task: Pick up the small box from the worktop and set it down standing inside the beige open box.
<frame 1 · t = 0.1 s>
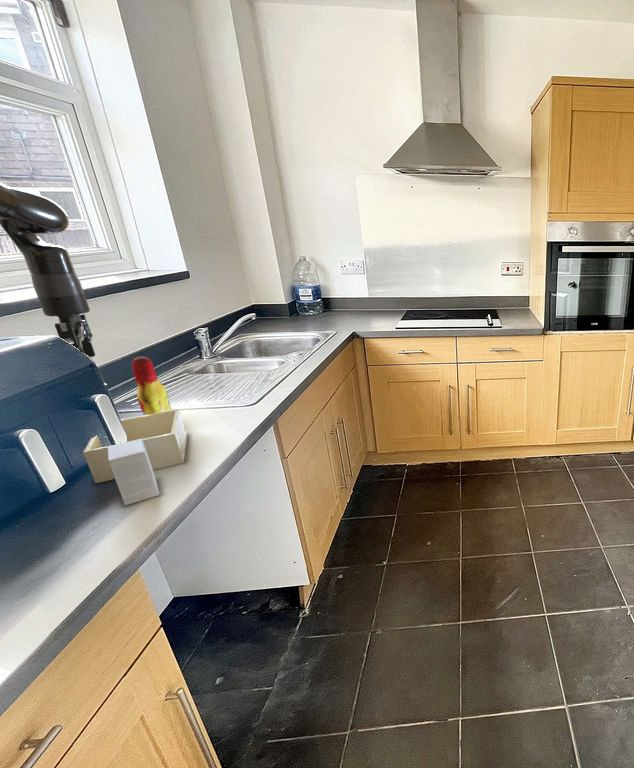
hand: (85, 361, 101), 23 cm above the table, tool pointing down, fingers open, 8 cm apart
small box: (141, 493, 88), on the table
bottle: (160, 423, 120), on the table
beige open box: (146, 456, 102), on the table
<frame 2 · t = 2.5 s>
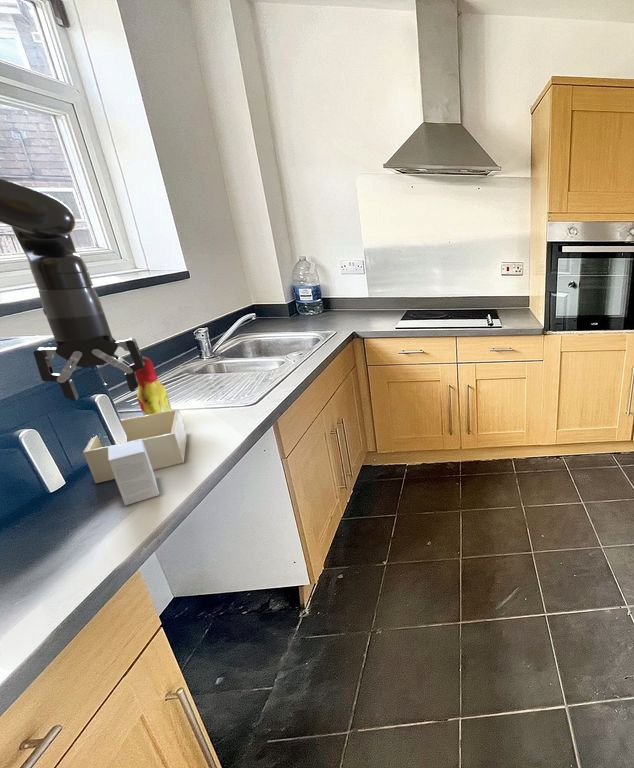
hand: (104, 394, 82), 22 cm above the table, tool pointing down, fingers open, 8 cm apart
nothing on the table moved.
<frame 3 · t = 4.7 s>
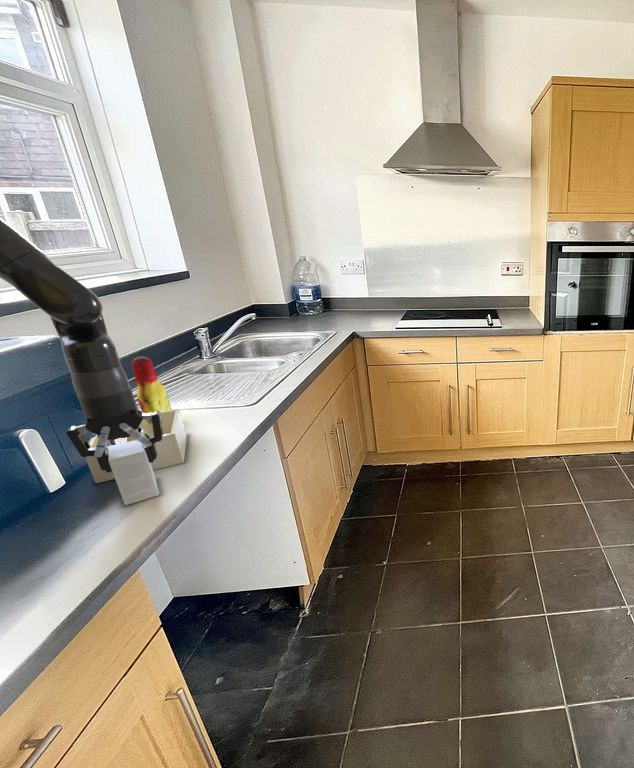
hand: (131, 465, 86), 7 cm above the table, tool pointing down, fingers closed on small box, 6 cm apart
small box: (141, 493, 88), on the table, touching gripper
everything else where it was.
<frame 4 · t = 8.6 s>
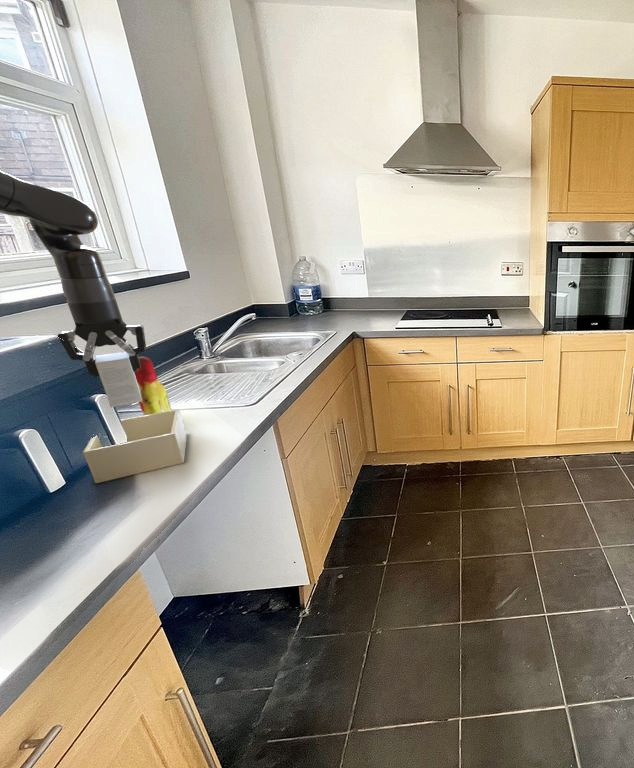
hand: (117, 373, 94), 22 cm above the table, tool pointing down, fingers closed on small box, 6 cm apart
small box: (126, 400, 97), point 15 cm above the table, touching gripper
everything else where it was.
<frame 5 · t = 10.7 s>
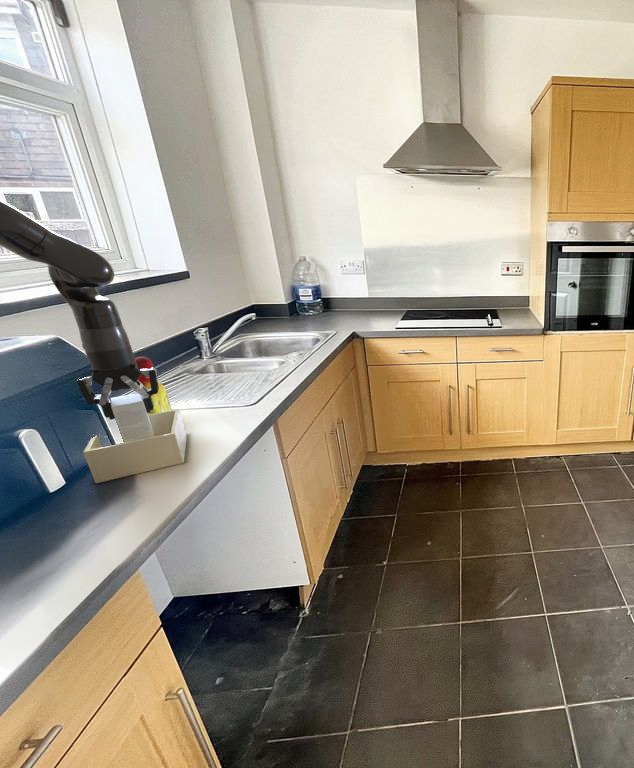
hand: (131, 414, 98), 11 cm above the table, tool pointing down, fingers closed on small box, 6 cm apart
small box: (140, 440, 100), point 5 cm above the table, touching gripper
everything else where it was.
when the fingers open (7 cm above the table, at t = 12.4 s): small box stays where it is, resting on beige open box.
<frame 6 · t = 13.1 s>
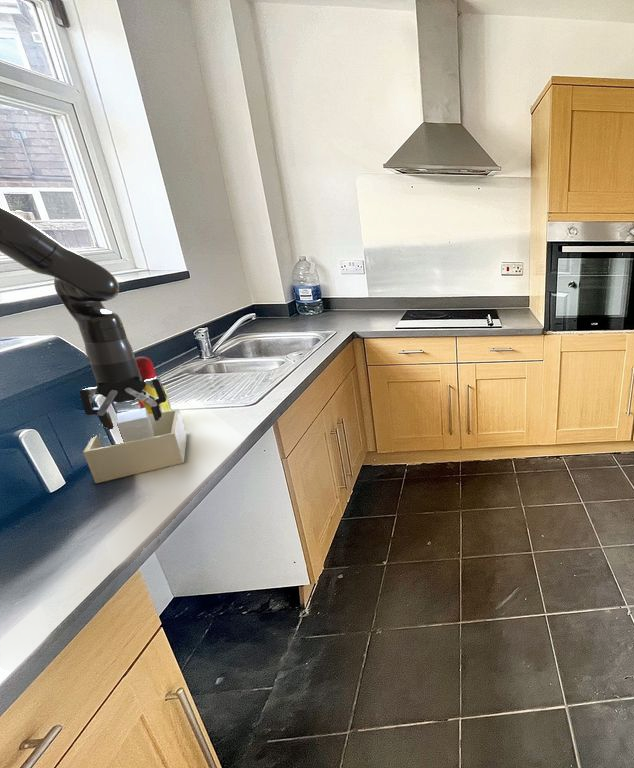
hand: (134, 423, 99), 9 cm above the table, tool pointing down, fingers open, 8 cm apart
small box: (145, 454, 102), point 1 cm above the table, touching beige open box
everything else where it was.
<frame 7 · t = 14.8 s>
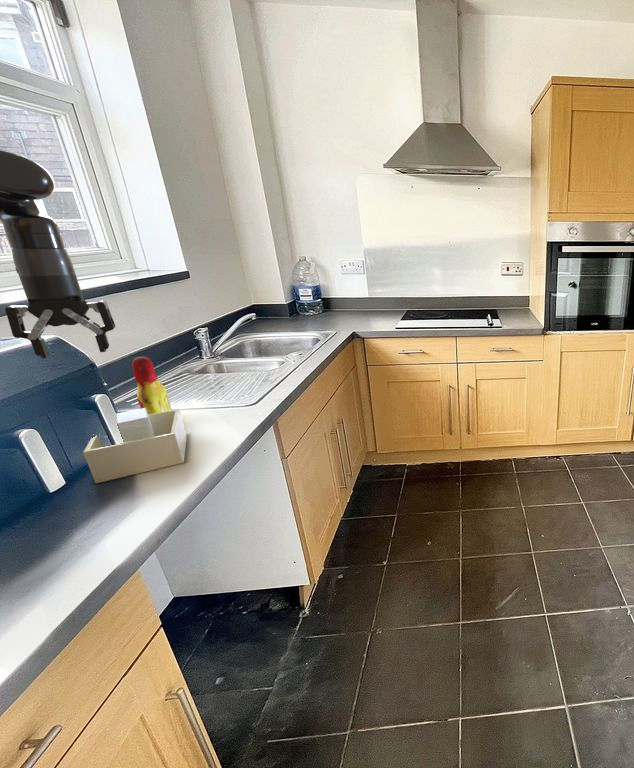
hand: (75, 354, 85), 28 cm above the table, tool pointing down, fingers open, 8 cm apart
nothing on the table moved.
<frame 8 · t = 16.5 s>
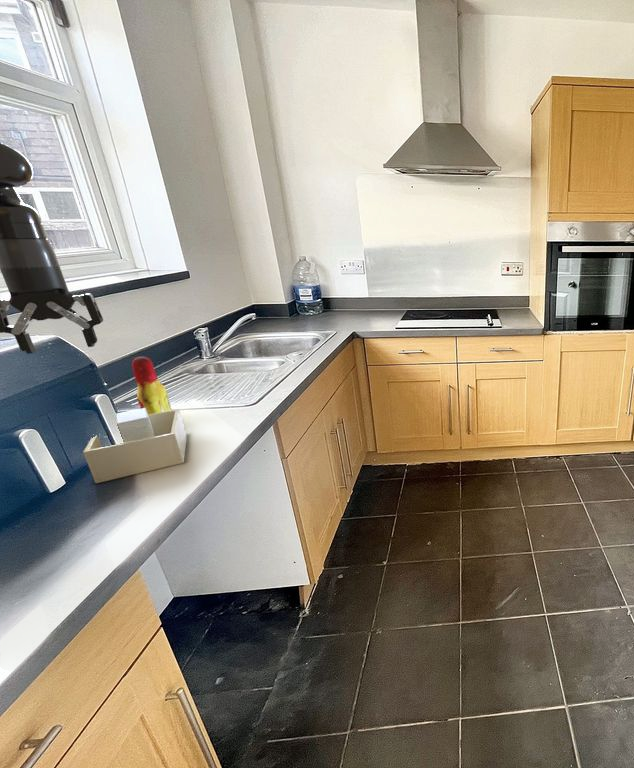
hand: (62, 349, 82), 30 cm above the table, tool pointing down, fingers open, 8 cm apart
nothing on the table moved.
at the end: small box inside the target area in the beige open box (0.1 cm from its centre), point 0.6 cm above the beige open box's base; small box tilted 0°; the gripper is holding nothing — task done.
